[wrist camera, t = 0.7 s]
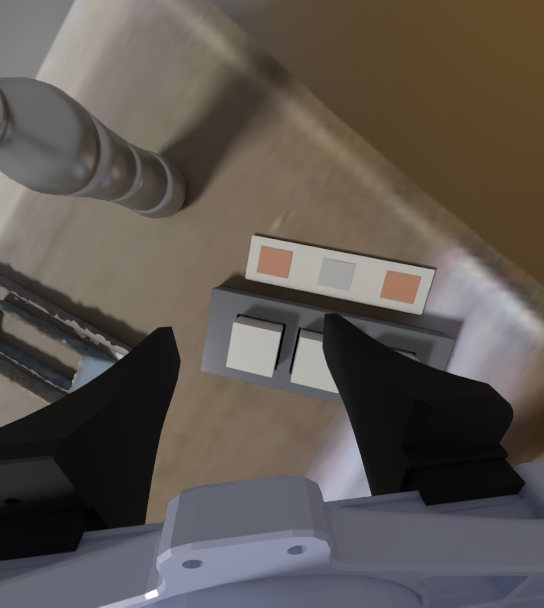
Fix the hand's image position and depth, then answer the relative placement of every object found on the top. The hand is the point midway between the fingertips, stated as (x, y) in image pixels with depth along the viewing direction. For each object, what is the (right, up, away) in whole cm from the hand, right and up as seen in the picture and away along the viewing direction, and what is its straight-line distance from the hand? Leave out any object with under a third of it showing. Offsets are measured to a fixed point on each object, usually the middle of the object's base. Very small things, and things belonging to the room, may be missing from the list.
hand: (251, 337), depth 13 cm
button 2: (-1, -3, +18) cm, 19 cm away
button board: (+6, -4, +19) cm, 21 cm away
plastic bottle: (-11, +15, +18) cm, 26 cm away
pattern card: (+8, +5, +18) cm, 20 cm away
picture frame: (-28, -4, +25) cm, 38 cm away
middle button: (+6, -4, +18) cm, 19 cm away
